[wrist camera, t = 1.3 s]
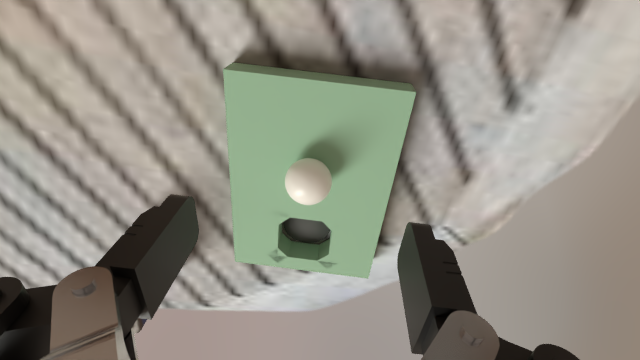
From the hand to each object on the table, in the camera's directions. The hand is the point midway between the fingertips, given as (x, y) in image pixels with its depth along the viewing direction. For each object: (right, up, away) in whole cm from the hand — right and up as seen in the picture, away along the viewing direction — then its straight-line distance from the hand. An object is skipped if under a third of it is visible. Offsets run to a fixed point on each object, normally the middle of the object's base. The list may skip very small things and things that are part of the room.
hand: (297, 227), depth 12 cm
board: (0, +2, +20) cm, 20 cm away
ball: (0, +2, +15) cm, 15 cm away
